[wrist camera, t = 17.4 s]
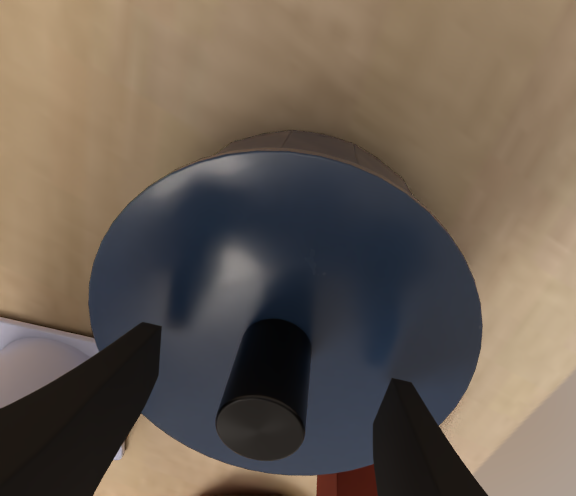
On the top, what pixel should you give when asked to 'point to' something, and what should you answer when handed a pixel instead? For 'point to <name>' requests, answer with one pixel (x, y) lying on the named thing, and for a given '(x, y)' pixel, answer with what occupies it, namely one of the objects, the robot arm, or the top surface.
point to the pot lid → (286, 306)
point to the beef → (348, 483)
